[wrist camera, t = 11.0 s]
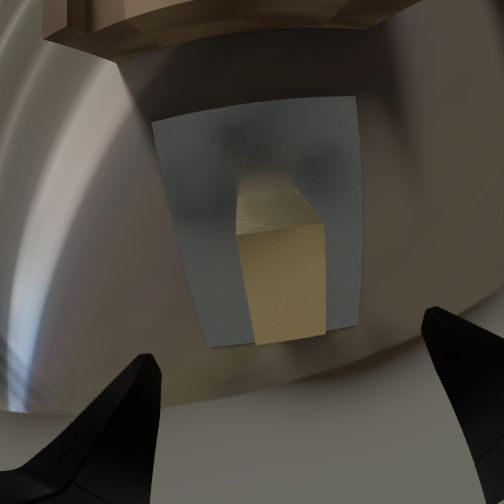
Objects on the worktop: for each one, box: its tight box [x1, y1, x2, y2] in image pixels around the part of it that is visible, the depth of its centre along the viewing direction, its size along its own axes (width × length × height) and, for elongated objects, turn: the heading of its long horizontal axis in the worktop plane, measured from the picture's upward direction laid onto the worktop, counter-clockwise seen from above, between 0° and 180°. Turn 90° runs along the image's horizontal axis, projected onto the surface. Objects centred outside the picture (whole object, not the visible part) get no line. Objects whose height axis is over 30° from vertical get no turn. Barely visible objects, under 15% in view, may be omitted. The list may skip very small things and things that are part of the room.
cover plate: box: [151, 96, 363, 348], centre depth 14 cm, size 10×14×6 cm
